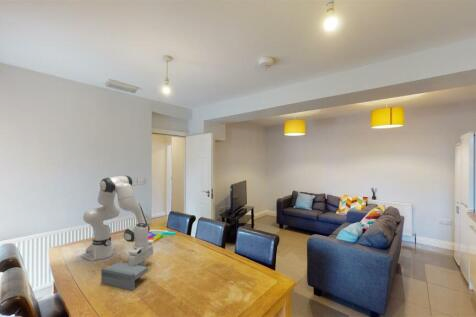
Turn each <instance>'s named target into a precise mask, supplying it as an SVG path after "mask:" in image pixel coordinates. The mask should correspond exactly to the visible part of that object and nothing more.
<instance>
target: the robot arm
mask: <svg viewBox="0 0 476 317" xmlns="http://www.w3.org/2000/svg"><path fill="white" fill-rule="evenodd" d="M99 184H100V186H99V187H100V189H99V192H98V197H97V202H98V204H99V205H101V206H100V207H96V208H92V209H88V210H86V211H85V212H84V214H83V217H82V218H83V219H82V220H83V221H84V222H85V223H86V224H87V225H90V226H91V227H92V229H93V239H91V242H92V243H91V244H90V245H89V246H87V248H86V249H85V253H84V254H82V255H81V257H82V258H83V259H86V260H88V261H90V262H93V261H97V260H104V259H106V258H109V257H111V256H113V255H114V253H113V252H114V249H113V246H112V245H113V243H112V236H111V227H110V226H109V225H107V224H104V221H107V220H113V219H114V218H115V219H116V218H117V217H119V215H120V213H121V212H120V211H121V210H123V211H127V212H131V213H133V214H134V216H135V218H136V220H137V224H135V225H133V226H131V227H128V228H126V229H125V230H124V232H123V238H124V241H125V242H128V243H132V242H133V241H134V242H135V243H134V246H132V248H131V249H130V250H128V254H129V256H128V264H129V266H134V265H139V266H145V263H146V260H147V259H148V258H150V257H152V256H153V254H154V246H153V244H152V243H149V241H148V236H149V231H150V230H151V229H150V226H149V224H148V222H147V219H146V216H145V213H144V211H143V209H142V206H141V204H140V203H138V201H137V199H136V197H135V196H136V195H135V192H134V189H133V179H132V177H131V176H129V175H118V176H117V175H116V176H111V177H104V178H103V179H101V181H100V182H99ZM116 196H117V203H118V205H116V204H115V197H116ZM120 209H121V210H120Z"/></svg>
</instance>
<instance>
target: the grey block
mask: <svg viewBox="0 0 476 317" xmlns="http://www.w3.org/2000/svg"><path fill="white" fill-rule="evenodd" d="M148 270H149V266H145V265H144V266H139V264H137V265H134V266H129V262H123V261H118V262H116V263H114V264H112V265H110V266H109V267H102V268H101V270H100V271H101V274H100V276H101V278H100V279H101V280H100V282H101V285H102V284H103V285H107V286H110V287H116V288H120V289H124V290H129V291H134V290H135V287H136V286H135V285H136V282H135V281H136V280H137V279H139V278H140V277H141V276H143V275H144V274H146V273H147V272H148Z"/></svg>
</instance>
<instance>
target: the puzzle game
mask: <svg viewBox="0 0 476 317" xmlns="http://www.w3.org/2000/svg"><path fill="white" fill-rule="evenodd" d="M176 233H177V232H176V231H170V230H161V229H150V231H149V236H148V241H149V243H152V245H153V244H155V243H157V242H158V241H160V240H161V239H162V238H164V236H173V237H174V236H176V235H177V234H176ZM131 243H133V244H135V242H134V241H133V242H131Z"/></svg>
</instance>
